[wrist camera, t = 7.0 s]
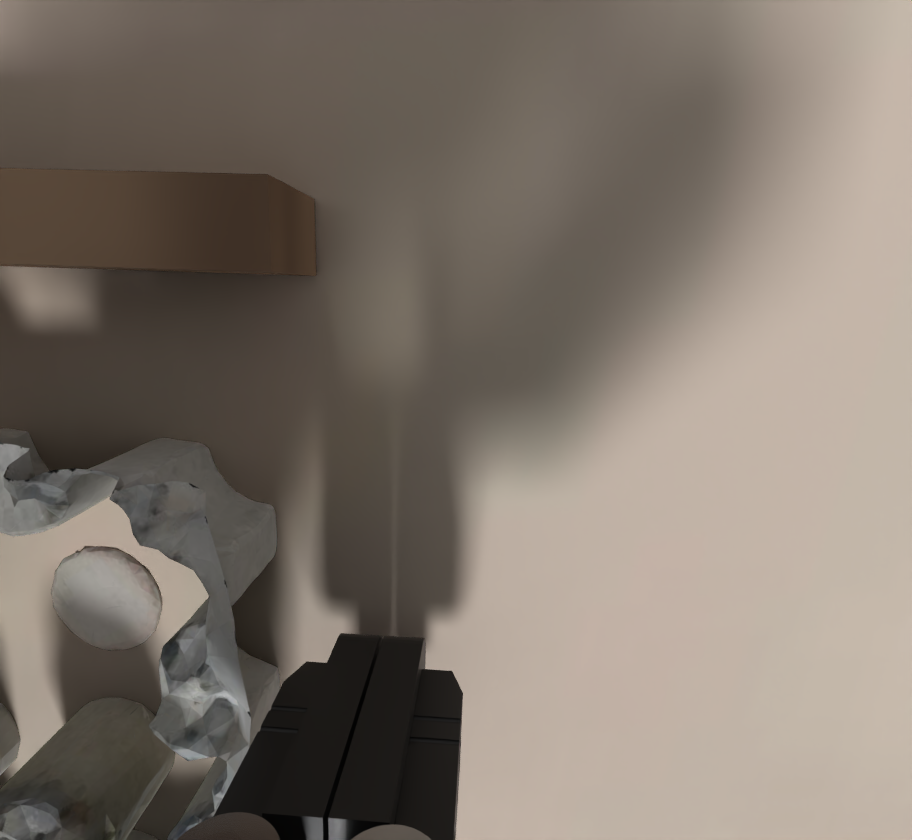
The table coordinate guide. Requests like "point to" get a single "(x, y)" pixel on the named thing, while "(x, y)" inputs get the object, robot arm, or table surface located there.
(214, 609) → the egg carton
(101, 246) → the display stand
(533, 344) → the table surface
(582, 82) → the table surface
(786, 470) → the table surface
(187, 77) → the table surface
